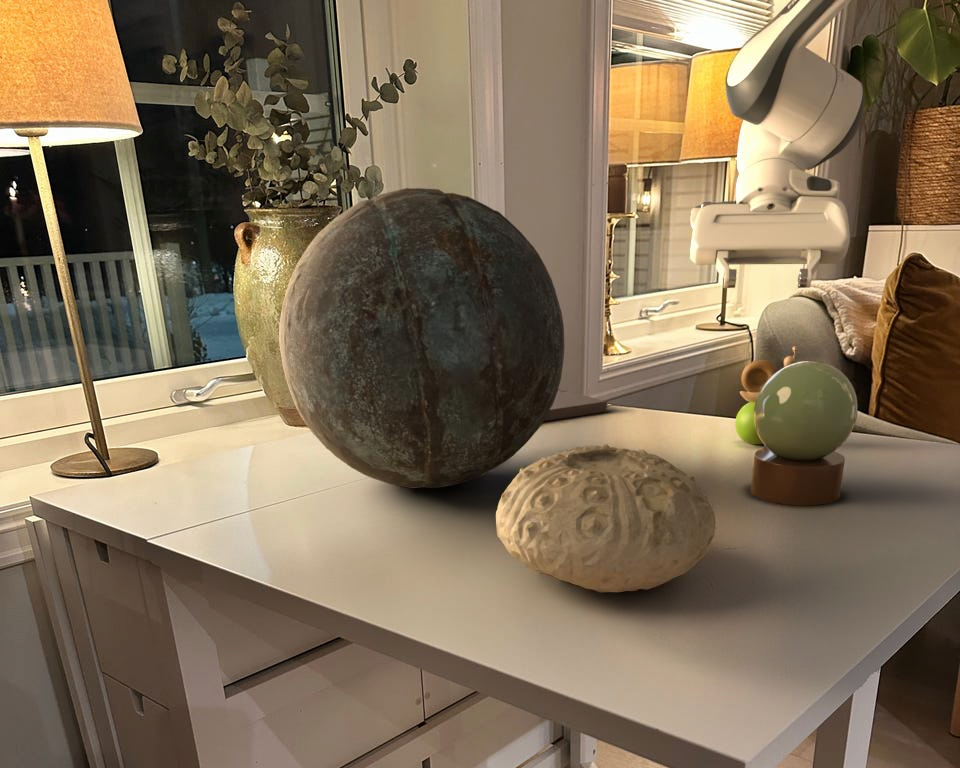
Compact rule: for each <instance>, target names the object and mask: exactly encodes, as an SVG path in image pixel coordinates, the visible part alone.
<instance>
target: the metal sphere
mask: <svg viewBox="0 0 960 768" xmlns="http://www.w3.org/2000/svg"><path fill="white" fill-rule="evenodd" d="M279 317H280V319H279V323H278V344H279V351H280V357H281V364H282V369H283V374H284V379H285V380H286V384H287V387H288V390H289V393H290V395H291V398H292V402H293V403H294V406H295V408H296V410H297V413H298V414H299V416H300V417H301V419H302V420H303V422H304V424H305V425H306V427H307V428H308V429H309V431H310V432H311V433H312V434H313V436H315V438H316V439H318V441H319V442H320V443H321V444H322V445H323V446H324V448H325V449H327V450H328V451H329V452H330V453H331V454H333V456H335V457H336V458H337V459H339V460H340V461H342V462H343V463H344V464H346V465H347V466H348V467H350V468H351V469H353V470H355V471H357V472H359V473H360V474H362V475H364V476H366V477H368V478H372V479H374V480H377V481H379V482H383V483H386V484H389V485H393V486H398V487H402V488H407V489H416V488H417V489H418V488H426V489H437V488H444V487H451V486H455V485H458V484H463V483H465V482H469V481H472V480H474V479H477V478H480V477H481V476H484V475H485V474H486V473H489V472H491V471H492V470H494V469H497V468H498V467H500V466H502V464H504V463H506V462H507V461H508V460H510V459H512V458H513V457H514V456H515V455H516V454H517V453H518V452H519V451H520V450H521V449H522V448H523V447H524V446H525V445H526V444H527V443H528V442H529V441H530V440H531V439H532V437H533V436H534V435H535V434H536V433H537V431H538V430H539V428H540V427H541V426H542V424H543V423H544V422H545V421H544V419H545V418H546V416H547V414H548V412H549V410H550V409H551V407H552V404H553V402H554V400H555V397H556V394H557V391H558V389H559V387H560V384H561V380H562V375H563V366H564V361H565V360H564V359H565V358H564V357H565V327H564V320H563V319H564V318H563V313H562V309H561V306H560V302H559V299H558V296H557V292H556V287H555V285H554V282H553V279H552V277H551V275H550V273H549V271H548V268H547V266H546V265H545V263H544V261H543V259H542V258H541V255H540V254H539V253H538V251H537V249H536V248H535V247H534V246H533V245H532V243H531V242H530V241H529V240H528V238H527V237H526V236H525V235H524V234H523V232H521V231H520V229H518V228H517V227H516V226H515V225H514V224H513V223H512V222H511V221H510V220H509V219H508V218H506V217H505V216H504V215H503V214H502V213H501V212H500V211H498V210H495V209H493V208H492V207H489V206H488V205H486V204H484V203H482V202H480V201H478V200H477V199H475V198H472V197H470V196H467V195H463V194H458V193H454V192H444V191H443V190H440V189H439V188H425V187H424V188H423V187H413V188H411V187H410V188H409V187H405V188H402V189H397V190H392V191H389V192H384V193H381V194H378V195H376V196H373V197H372V198H370V199H366V200H359V201H357V202H356V203H355V204H353V205H352V206H350V208H347V210H345V211H343V212H342V213H340V214H339V215H338V216H336V217H335V218H334V219H332V220H331V221H330V222H329V223H328V224H327V225H326V226H325V227H324V228H322V229H321V230H320V231H319V232H318V233H317V234H316V235H315V237H314V238H313V239H312V240H311V242H310V243H309V244H308V245H307V247H306V249H305V250H304V252H303V253H302V255H301V257H300V258H299V260H298V262H297V264H296V265H295V267H294V270H293V272H292V275H291V277H290V279H289V281H288V284H287V287H286V290H285V294H284V297H283V302H282V306H281V312H280V316H279Z"/></svg>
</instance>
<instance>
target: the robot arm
mask: <svg viewBox="0 0 960 768" xmlns="http://www.w3.org/2000/svg"><path fill="white" fill-rule="evenodd" d="M851 2H852V0H789V2H788V3H787V4H786V5H785V6H784V7H783V8H782V10H780V11H779V12H778V14H776V15H775V16H774V17H773V18H772V19H771V20H770V21H769V22H767V24H765V25H764V26H763V27H762V28H760V29H759V30H758V31H757V32H756V33H754V34H753V35H752V36H751V37H750V38H749V39H748V40H746V42H745V43H744V44H743V45H742V46H741V48H739V50H738V52H737V53H736V54H735V56H734V57H733V59H732V61H731V62H730V64H729V67H728V69H727V72H726V75H725V79H724V80H725V94H726V99H727V103H728V106H729V109H730V112H731V114H732V115H733V116H734V117H736V118H738V119H740V120H743V121H742V124H741V127H740V131H739V136H738V141H737V142H738V143H737V154H736V155H737V156H736V169H737V172H738V176H737V179H736V184H735V200H723V201H714V202H713V201H703V202H701V204H700V205H697V206H695V207H693V208H692V209H691V211H690V213H689V225H690V227H691V229H692V233H691V234H692V235H691V241H690V242H691V243H690V250H689V251H690V252H689V260H690V261H691V262H692V263H693V264H694V265H696V266H711V265H712V266H714V265H715V270H716V271H717V272H718V274H719V275H720V277H721V278H722V279H723V289H736V284H737V273H738V271H737V269H736V268H730V266H731V265H732V266H733V265H806V268H799V273H798V277H797V288H798V289H799V288H800V289H802V288H803V289H806V288H807V289H808V288H811V284H812V278H813V276H814V274H815V273H816V272H817V270H818V268H819V266H820V265H836V264H840V263H841V262H842V261H843V260H844V259H845V258H846V256H847V253H848V251H849V247H850V243H851V229H850V220H849V216H848V211H847V208H846V205H845V204H844V202H843V201H841V200H840V193H841V184H840V182H839V181H837V180H835V179H833V178H827V177H823V176H819V175H815V174H812V173H809V172H806V171H810V170H813V169H814V168H817V167H818V166H821V165H822V164H823V163H825V162H827V161H828V160H830V159H832V158H833V157H835V156H836V155H838V154H839V153H840V152H842V151H843V150H844V149H846V147H847V146H848V145H849V144H850V143H851V141H852V140H853V139H854V137H855V136H856V134H857V132H858V130H859V127H860V125H861V122H862V119H863V114H864V109H865V99H866V97H865V88H864V85H863V83H862V82H861V81H860V80H859V79H857V78H855V77H854V76H853V75H852V74H850V73H848V72H847V71H846V70H843V69H842V68H840V67H838V66H837V65H836V64H834V63H832V62H829V61H828V60H826V59H825V58H823V57H822V56H820V55H819V54H817V53H815V52H814V51H812V50H811V49H809V48H807V46H808V45H809V44H810V43H811V42H812V41H813V40H814V39H815V38H816V37H817V36H818V35H819V34H820V33H821V32H822V31H823V30H824V29H825V28H826V27H827V26H828V25H829V24H830V23H831V22H832V21H833V20H834V19H835V18H836V16H837V15H839V14H840V12H841V11H843V10H844V9H845V8H846V6H848V5H849V4H850V3H851ZM729 265H730V266H729Z"/></svg>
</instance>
